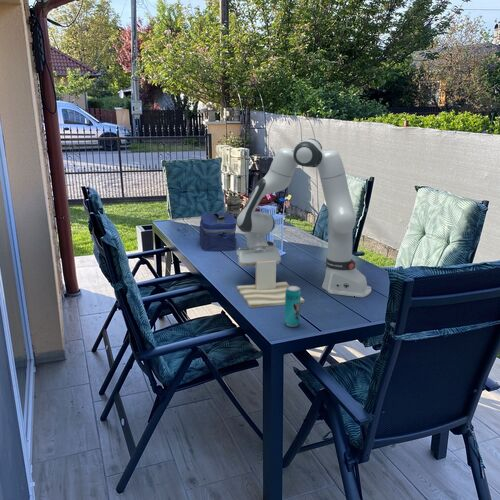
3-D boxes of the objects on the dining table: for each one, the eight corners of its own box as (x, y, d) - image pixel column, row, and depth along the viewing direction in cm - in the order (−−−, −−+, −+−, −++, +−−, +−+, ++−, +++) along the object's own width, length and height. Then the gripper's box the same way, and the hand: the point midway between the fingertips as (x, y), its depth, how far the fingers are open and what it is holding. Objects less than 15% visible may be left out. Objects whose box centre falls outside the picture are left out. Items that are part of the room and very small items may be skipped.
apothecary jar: (237, 222, 357) (237, 198, 352) (222, 221, 361) (222, 197, 356) (243, 219, 368) (244, 195, 363) (229, 218, 372) (229, 194, 367)
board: (236, 288, 225) (236, 285, 225) (285, 284, 232) (285, 281, 231) (250, 308, 203) (250, 305, 203) (304, 302, 209) (304, 300, 209)
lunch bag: (239, 252, 283) (239, 217, 278) (203, 253, 279) (202, 219, 274) (230, 238, 313) (230, 207, 307) (198, 240, 308) (197, 208, 303)
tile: (274, 286, 225) (274, 259, 221) (275, 288, 223) (276, 261, 219) (255, 288, 223) (255, 261, 219) (256, 290, 220) (257, 262, 217)
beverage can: (293, 329, 184) (294, 291, 180) (281, 324, 188) (282, 288, 184) (302, 324, 188) (303, 287, 184) (290, 320, 192) (291, 284, 188)
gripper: (236, 245, 227) (241, 271, 221) (278, 242, 232) (284, 268, 226) (234, 251, 232) (239, 277, 226) (275, 248, 237) (281, 274, 231)
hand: (262, 272), depth 226 cm, fingers closed
